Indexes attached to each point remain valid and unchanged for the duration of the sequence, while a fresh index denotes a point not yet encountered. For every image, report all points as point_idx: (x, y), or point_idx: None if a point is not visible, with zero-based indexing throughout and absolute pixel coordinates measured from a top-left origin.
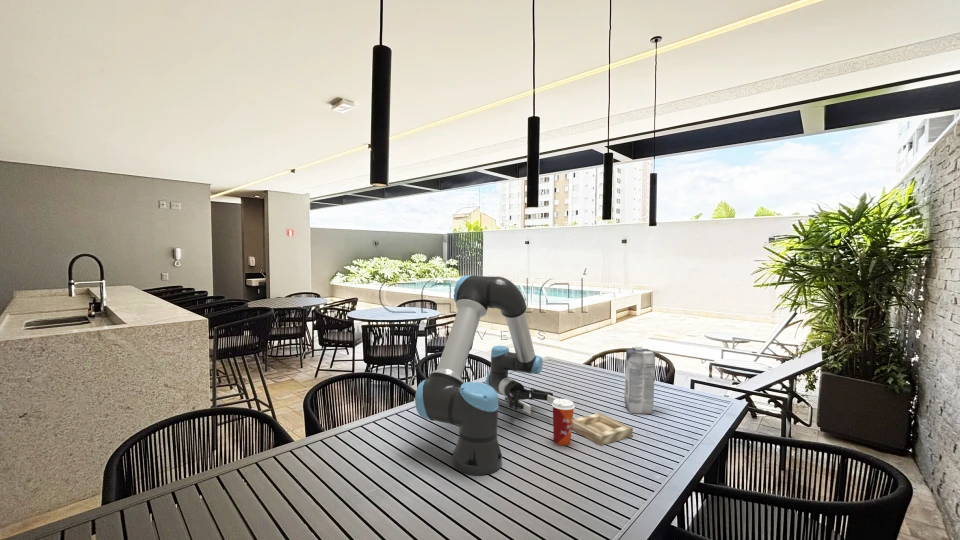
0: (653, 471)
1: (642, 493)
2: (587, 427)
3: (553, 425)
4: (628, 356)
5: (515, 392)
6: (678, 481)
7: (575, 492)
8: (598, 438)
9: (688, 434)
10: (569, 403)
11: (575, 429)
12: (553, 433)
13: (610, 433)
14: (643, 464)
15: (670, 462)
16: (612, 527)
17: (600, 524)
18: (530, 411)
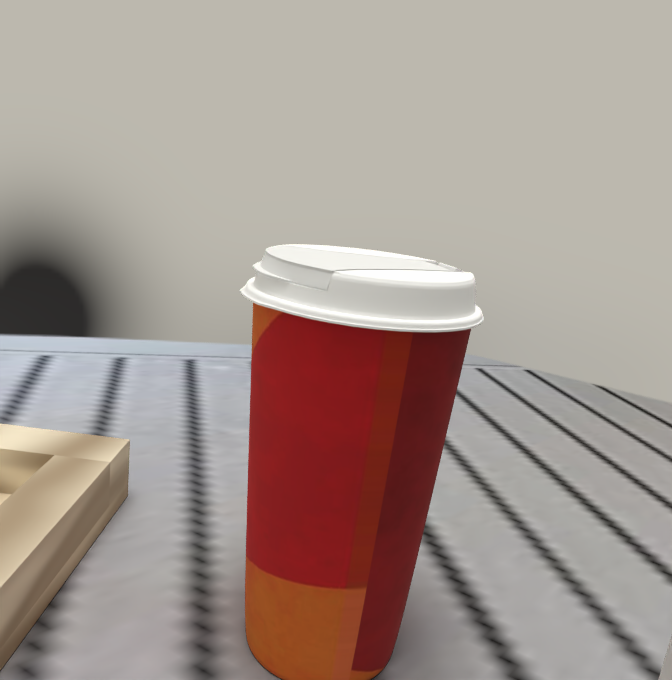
0: (196, 374)
1: None
2: (16, 518)
3: (423, 521)
4: None
5: None
6: (197, 348)
7: (567, 431)
8: (121, 467)
9: None
10: (341, 250)
11: None
12: (398, 605)
13: (23, 429)
14: (170, 390)
15: (69, 363)
16: (543, 375)
17: (567, 384)
18: (670, 657)
